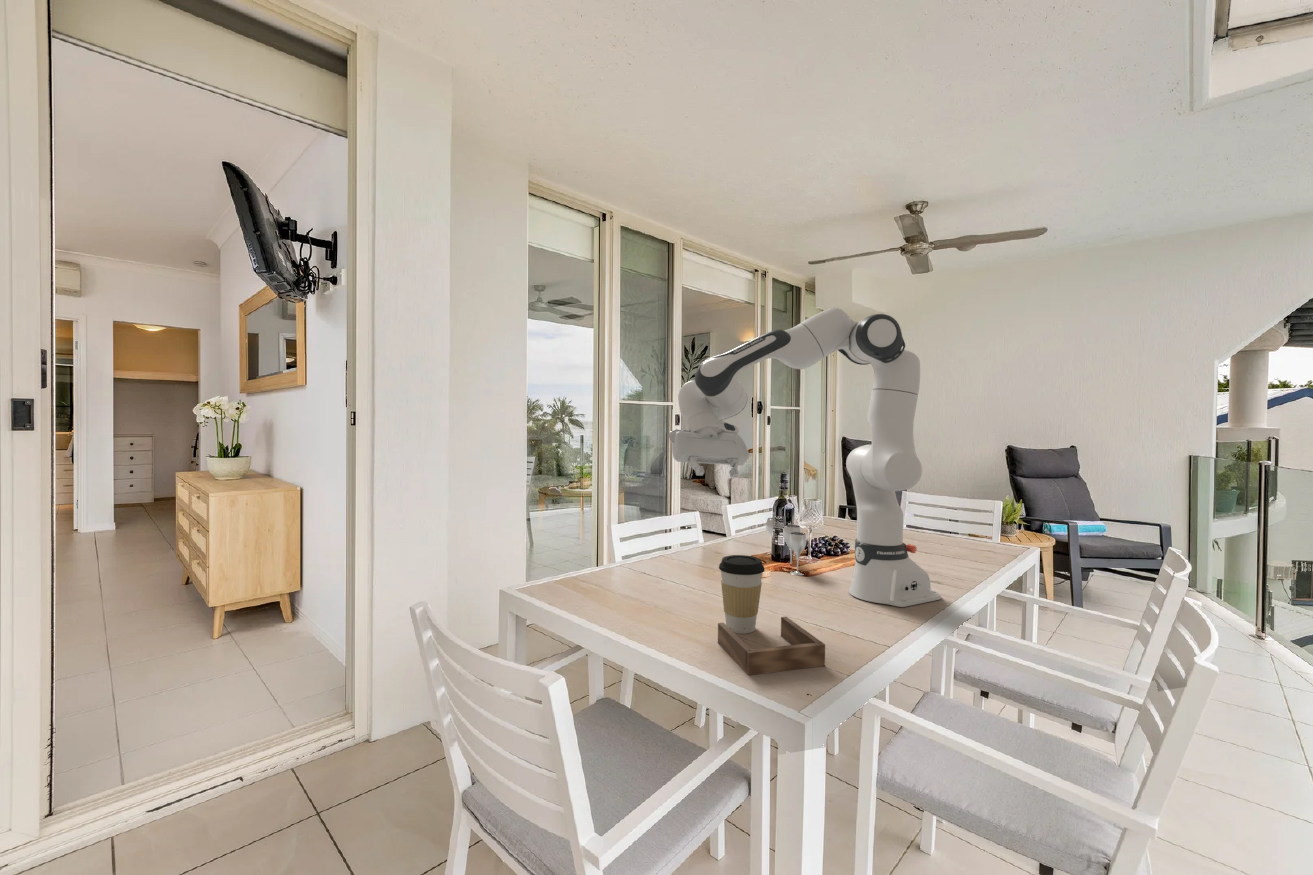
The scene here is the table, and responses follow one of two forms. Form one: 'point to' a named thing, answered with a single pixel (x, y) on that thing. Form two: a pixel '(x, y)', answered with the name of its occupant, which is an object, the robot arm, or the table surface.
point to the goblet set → (790, 540)
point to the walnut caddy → (775, 650)
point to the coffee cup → (741, 591)
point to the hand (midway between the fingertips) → (718, 475)
